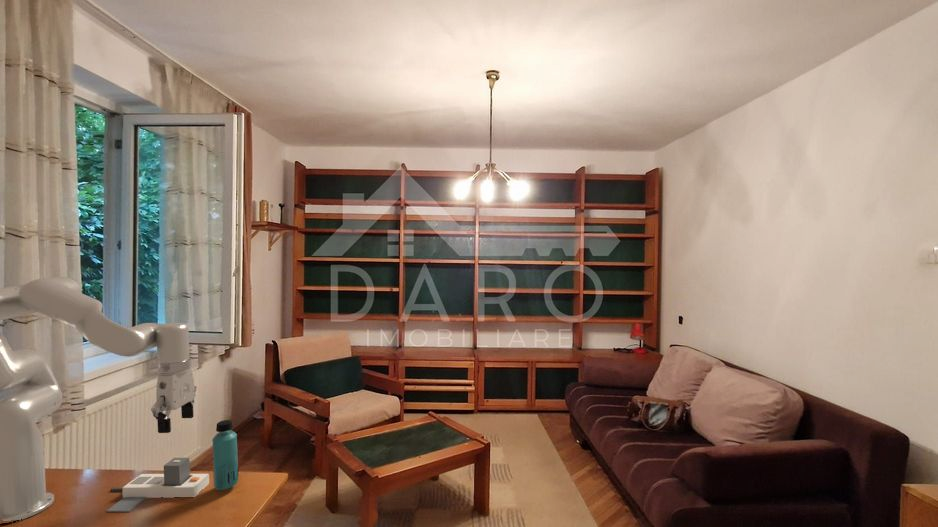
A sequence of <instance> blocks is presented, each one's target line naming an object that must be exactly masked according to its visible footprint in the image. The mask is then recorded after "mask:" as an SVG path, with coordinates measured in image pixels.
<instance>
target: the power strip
mask: <svg viewBox="0 0 938 527" xmlns="http://www.w3.org/2000/svg"><path fill="white" fill-rule="evenodd" d="M208 485H210V473H190V478H189V479H188V480H187V481H186V482H185V483H183V484H182V485H181V486H164V473H140V474H139V475H138V476H136V477H135V478H134V479H132V480H131V481H129V482H128V483H126V485H124V486H123V487H112V488H110V492H122V499H123V498H124V497H146V499H156V498H157V499H161V497H163V499H165V498H166V499H167V498H169V499H172V498H173V499H175V498H174V497H194V498H195V497H197V495H199V494H200V493H201V492H202V491H203V490H204V489H205V488H206V487H207V486H208ZM202 489H203V490H202ZM201 490H202V491H201ZM200 491H201V492H200ZM199 492H200V493H199Z"/></svg>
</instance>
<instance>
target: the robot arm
mask: <svg viewBox="0 0 938 527" xmlns="http://www.w3.org/2000/svg"><path fill="white" fill-rule="evenodd" d="M36 313H38V314H41V315H44V316H46V317H49V318H51V319H54V320H56V321H58V322H61V323H63V324H65V325H67V326H69V327H72V328H74V329H76V330H77V332H79V334H80V335H81V336H82V337H83V338H84V339H85V340H87V342H89V343H90V344H92V345H93V346H95V347H97V348H99V349H102V350H104V351H106V352H110V353H111V354H113V355H114V354H115V355H118V356H120V357H128V358H130V357H136V356H138V355H141V354H143V353H144V352H146V351H148V350H153V349H155V348H156V354H157V355H156V357H157V360H156V361H157V380H156V389H155V391H156V393H155V394H156V395H155V397H156V398H155V399H156V401H155V403H154V404H153V406H151V408H150V411H151V413H152V415H153V417H154V418H155V420H156V421H157V432H158V434H169V433H171V432H172V431H171V430H172V426H171V417H170V415H171V412H172V411H175V410H178V409H179V408H181V409H180V410H181V419H192V418H193V417H194V404H195V398H196V391H197V386H196V385H195V380H194V375H193V370H192V367H191V365H190V364H191V363H190V362H191V361H190V360H191V359H190V339H189V337H190V336H189V326H188V325H187V324H186V323H185V322H171V323H170V322H169V323H157V322H145V323H140V324H136V325H134V326H132V327H126V326H124V325H122V324H119V323H117V322H116V321H113V320H112V319H110V318H108V317H107V316H106V315H104V313H103V303H102V302H101V301H100V300H98V299H97V298H96V299H95V298H94V297H91V296H89V295H87V294H84V293H82V288H81V285H80V284H79V283H78V282H77V281H76V280H74V279H73V278H70V277H65V276H52V277H43V278H38V279H37V278H36V279H32V280H30V281H29V282H26V283H24V284H19V285H14V286H7V287H0V321H3V320H7V319H8V320H9V319H12V318H19V317H22V316H27V315H31V314H36ZM12 389H14V391H15V392H13V393H12V394H10V395H6V396H4V397H2V398H0V520H3V521H11V520H19V521H22V520H25V519H27V518H28V519H29V518H30V517H32V516H35V515H37V514H39V513H41V512H43V511H44V510H45V509H47V508H49V507H50V506H51V505H52V504H53V503H54V501H55V495H54V494H53V493H52V492H47V489H46V488H47V486H46V468H45V467H46V466H45V447H44V446H45V444H44V437H43V434H42V433H41V432H42V431H40V428H39V427H38V426H37V425H38V424H37V422H39V421H41V420H42V419H44V418H46V417H49V415H51V414H54V412H55V411H57V410H58V409H59V408H60V406H61V405H62V403H63V399H64V398H63V393H62V388H61V387H60V384H59V382H58V380H57V378H56V376H55V374H54V372H53V370H52V368H51V366H50V364H49V362H48V360H47V359H46V357H44V355H43V354H41V353H40V352H38V351H37V350H32V349H28V348H27V349H25V348H23V349H16V350H13V349H12V348H11V346H10V344H9V342H8V339H7V338H6V336H5V335H4V334H3V332H1V331H0V394H1V393H5V392H7V391H10V390H12ZM164 412H165V413H164ZM21 519H22V520H21Z"/></svg>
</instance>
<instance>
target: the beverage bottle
mask: <svg viewBox="0 0 938 527" xmlns="http://www.w3.org/2000/svg"><path fill="white" fill-rule="evenodd" d="M232 429H233V421H232V420H231V419H225V420H221V421H218V422H217V423H216V429H215V431H216V432H218V433H216V435H215V436H214V437H213V438H212V439H211V440H212V454H213V456H212V459H213V460H212V464H213V466H212V470H213V471H212V472H213V480H212V481H213V482H212V484H213V487H214V489H215V490H217V491H218V490H219V491H220V490H221V491H222V490H228V489H230V488H233V487H234V486H236V485H237V484H238V482H239V476H240V475H239V472H240V471H239V464H238V463H239V460H238V458H239V457H238V447H239V446H238V438H237V437H238V434H237V433H236V432H235V431H233V430H232Z"/></svg>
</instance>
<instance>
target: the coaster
mask: <svg viewBox="0 0 938 527" xmlns="http://www.w3.org/2000/svg"><path fill="white" fill-rule="evenodd" d="M146 499H147V498H146V497H124V498H123V497H122V498H121V499H120V500H119V501H117V502H116V503H114V504H113V505H112V506H110V508H108V509H106V513H130V512H131V511H132V510H134V509H135V508H136V507H137V506H139V505H140V504H141V503H142V502H144V501H145V500H146Z"/></svg>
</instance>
